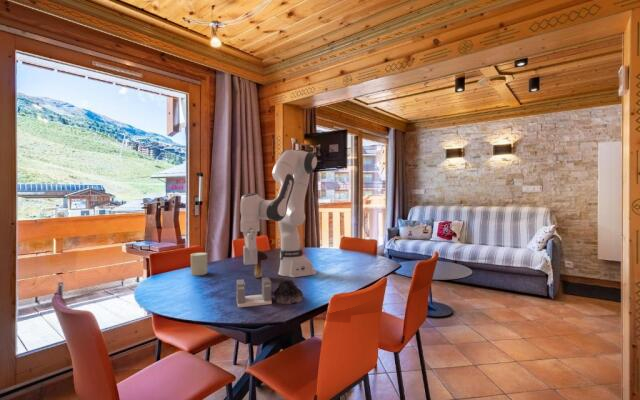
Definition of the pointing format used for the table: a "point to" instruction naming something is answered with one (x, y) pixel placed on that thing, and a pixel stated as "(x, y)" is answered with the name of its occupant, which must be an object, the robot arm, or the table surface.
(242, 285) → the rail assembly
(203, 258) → the can
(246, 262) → the block
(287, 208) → the robot arm
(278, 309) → the table surface
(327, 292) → the table surface
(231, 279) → the table surface
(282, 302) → the dark grey rock
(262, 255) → the decorative mushroom
